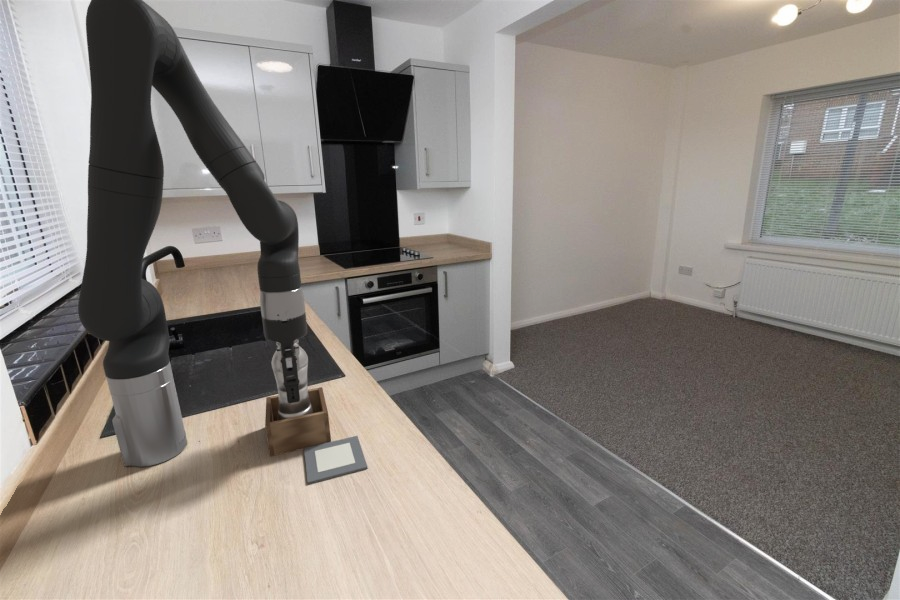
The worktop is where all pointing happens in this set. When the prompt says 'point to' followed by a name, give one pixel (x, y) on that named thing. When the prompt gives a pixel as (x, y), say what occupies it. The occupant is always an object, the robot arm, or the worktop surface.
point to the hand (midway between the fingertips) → (293, 393)
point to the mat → (334, 459)
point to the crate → (297, 425)
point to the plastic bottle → (304, 404)
